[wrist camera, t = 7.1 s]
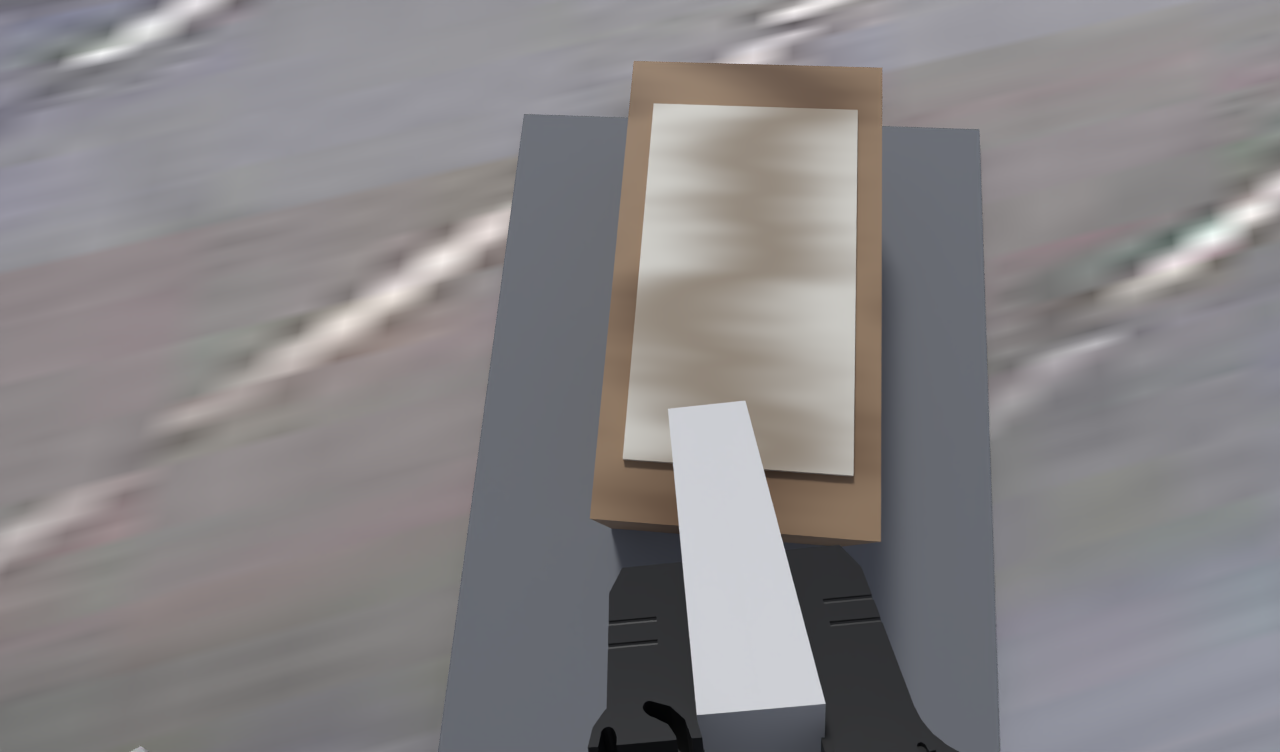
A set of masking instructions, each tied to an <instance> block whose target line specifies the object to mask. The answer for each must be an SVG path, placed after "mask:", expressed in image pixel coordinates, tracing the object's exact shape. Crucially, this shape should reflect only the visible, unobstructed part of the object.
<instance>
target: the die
mask: <svg viewBox="0 0 1280 752" xmlns="http://www.w3.org/2000/svg"><path fill="white" fill-rule="evenodd" d="M131 752H149V751H147V750H146V749H144V748H143V747H142V746H140V747H138V748H136V749H134V750H133V751H131Z"/></svg>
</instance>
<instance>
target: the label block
mask: <svg viewBox="0 0 1280 752" xmlns="http://www.w3.org/2000/svg"><path fill="white" fill-rule="evenodd" d="M881 335H882V68H870V67H833V66H796V65H760V64H723V63H686V62H649V61H634V64H633V74H632V85H631V95H630V106H629V116H628V126H627V137H626V147H625V158H624V168H623V178H622V189H621V199H620V210H619V220H618V230H617V241H616V251H615V261H614V272H613V282H612V293H611V303H610V313H609V324H608V334H607V345H606V355H605V365H604V376H603V386H602V396H601V407H600V417H599V428H598V438H597V448H596V459H595V469H594V480H593V490H592V500H591V511H590V519H592V520H594V521H596V522H598V523H600V524H602V525H605V526H607V527H609V528H613V529H625V530H637V531H650V532H662V533H675V534H680V532H679V521H678V511H677V500H676V490H675V479H674V468H673V458H672V447H671V437H670V426H669V415H668V409H670V408H679V407H689V406H698V405H708V404H717V403H727V402H736V401H746V405H747V409H748V413H749V416H750V420H751V424H752V428H753V431H754V435H755V439H756V443H757V447H758V450H759V454H760V458H761V462H762V465H763V469H764V473H765V477H766V481H767V484H768V488H769V492H770V496H771V499H772V503H773V507H774V511H775V515H776V518H777V522H778V526H779V530H780V533H781V537H782V541H783V542H786V543H799V544H811V545H824V546H832V545H840V546H841V547H842V546H851V545H859V544H867V543H875V542H881Z"/></svg>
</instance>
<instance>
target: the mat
mask: <svg viewBox="0 0 1280 752" xmlns="http://www.w3.org/2000/svg"><path fill="white" fill-rule="evenodd" d="M627 126H628V118H624V117H594V116H565V115H535V114H524V118H523V126H522V133H521V141H520V148H519V156H518V163H517V170H516V178H515V185H514V193H513V200H512V207H511V215H510V222H509V230H508V237H507V244H506V252H505V259H504V267H503V274H502V282H501V289H500V296H499V304H498V311H497V319H496V326H495V333H494V341H493V348H492V356H491V363H490V370H489V378H488V385H487V393H486V400H485V407H484V415H483V422H482V430H481V437H480V445H479V452H478V459H477V467H476V474H475V482H474V489H473V496H472V504H471V511H470V519H469V526H468V533H467V541H466V548H465V556H464V563H463V571H462V578H461V585H460V593H459V600H458V608H457V615H456V622H455V630H454V637H453V645H452V652H451V659H450V667H449V674H448V682H447V689H446V697H445V704H444V711H443V719H442V726H441V734H440V741H439V748H438V752H588V744H589V740H590V736H591V732H592V728H593V726H594V725H595V723H596V722H597V720H598V719H599V718H600V716H601V715H602V713H603V712H604V711H605V709H607V664H608V626H609V621H608V620H609V592H610V590H611V588H612V586H613V585H614V583H615V581H616V579H617V577H618V575H619V573H620V571H621V569H622V568H624V567H634V566H645V565H655V564H665V563H676V562H682V553H681V542H680V534H675V533H662V532H650V531H637V530H625V529H613V528H609V527H607V526H605V525H602V524H600V523H598V522H596V521H594V520H592V519H590V511H591V500H592V490H593V480H594V469H595V459H596V448H597V438H598V428H599V417H600V407H601V396H602V386H603V376H604V365H605V355H606V345H607V334H608V324H609V313H610V303H611V293H612V282H613V272H614V261H615V251H616V241H617V230H618V220H619V210H620V199H621V189H622V178H623V168H624V158H625V147H626V137H627ZM783 545H784V549H785V550H791V549H801V548H811V547H822V546H824V545H811V544H799V543H786V542H783ZM842 548H843V549H844V550H845V551H846V552H847V553H848V554H849V555H850V556H851V557H852V558H853V559H854V560H855V561H856V562H857V563H858V564H859V565H860V566H861V567H862V570H863V572H864V575H865V578H866V580H867V583H868V586H869V588H870V591H871V593H872V599H873V600H874V601H875V604H876V607H877V609H878V612H879V615H880V619H881V622H883V625H884V628H885V630H886V633H887V636H888V638H889V641H890V644H891V646H892V649H893V651H894V654H895V657H896V659H897V662H898V665H899V667H900V670H901V672H902V675H903V678H904V680H905V683H906V686H907V688H908V691H909V694H910V696H911V699H912V701H913V704H914V706H915V708H916V710H917V712H918V714H919V716H920V718H921V720H922V721H923V722H924V723H925V725H926V726H927V727H928V728H929V729H930V731H931V732H932V733H933V734H934V735H935V736H937V737H938V738H939V739H940V740H942V741H943V742H944V743H945V744H947V745H948V746H950V747H952V748H953V749H955V750H957V751H959V752H1000V739H999V708H998V678H997V648H996V618H995V588H994V557H993V527H992V497H991V467H990V437H989V406H988V376H987V346H986V316H985V286H984V255H983V225H982V195H981V165H980V135H979V129H951V128H922V127H892V126H882V335H881V542H875V543H867V544H859V545H851V546H842Z"/></svg>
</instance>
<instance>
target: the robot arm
mask: <svg viewBox="0 0 1280 752" xmlns="http://www.w3.org/2000/svg"><path fill="white" fill-rule="evenodd" d="M668 415H669V426H670V437H671V447H672V458H673V468H674V479H675V490H676V500H677V511H678V521H679V532H680V542H681V553H682V562H676V563H665V564H655V565H645V566H634V567H624V568H622V569H621V571H620V573H619V575H618V577H617V579H616V581H615V583H614V585H613V586H612V588H611V590H610V592H609V620H608V621H609V626H608V664H607V709H605V711H604V712H603V713H602V715H601V716H600V718H599V719H598V720H597V722H596V723H595V725H594V726H593V728H592V732H591V736H590V740H589V744H588V752H959V751H957V750H955V749H953V748H952V747H950V746H948V745H947V744H945V743H944V742H943V741H942V740H940V739H939V738H938V737H937V736H935V735H934V734H933V733H932V732H931V731H930V729H929V728H928V727H927V726H926V725H925V723H924V722H923V721H922V720H921V718H920V716H919V714H918V712H917V710H916V708H915V706H914V704H913V701H912V699H911V696H910V694H909V691H908V688H907V686H906V683H905V680H904V678H903V675H902V672H901V670H900V667H899V665H898V662H897V659H896V657H895V654H894V651H893V649H892V646H891V644H890V641H889V638H888V636H887V633H886V630H885V628H884V625H883V622H881V619H880V615H879V612H878V609H877V607H876V604H875V601H874V600H873V599H872V593H871V591H870V588H869V586H868V583H867V580H866V578H865V575H864V572H863V570H862V567H861V566H860V565H859V564H858V563H857V562H856V561H855V560H854V559H853V558H852V557H851V556H850V555H849V554H848V553H847V552H846V551H845V550H844V549H843V548H842V547H841V546H840V545H832V546H822V547H811V548H801V549H791V550H785V549H784V545H783V541H782V537H781V533H780V530H779V526H778V522H777V518H776V515H775V511H774V507H773V503H772V499H771V496H770V492H769V488H768V484H767V481H766V477H765V473H764V469H763V465H762V462H761V458H760V454H759V450H758V447H757V443H756V439H755V435H754V431H753V428H752V424H751V420H750V416H749V413H748V409H747V405H746V401H736V402H727V403H717V404H708V405H698V406H689V407H679V408H670V409H668Z"/></svg>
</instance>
